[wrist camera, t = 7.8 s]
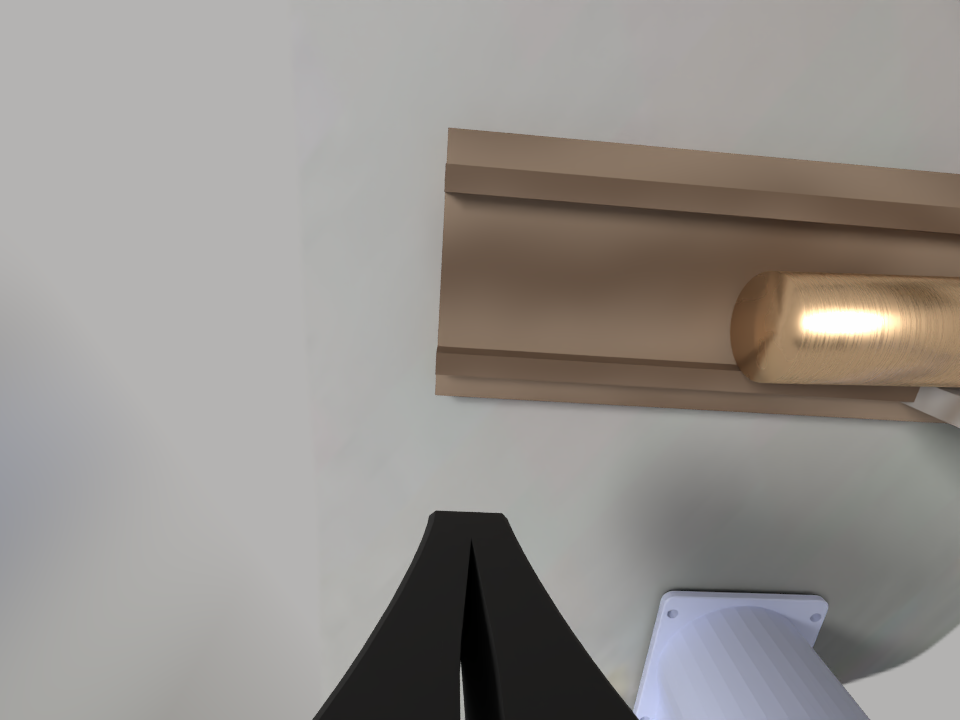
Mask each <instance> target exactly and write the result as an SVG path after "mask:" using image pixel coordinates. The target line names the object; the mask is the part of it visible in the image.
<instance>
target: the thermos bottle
mask: <svg viewBox="0 0 960 720" xmlns="http://www.w3.org/2000/svg"><path fill="white" fill-rule="evenodd" d="M730 342H731V348H732V352H733V356H734V359H735V361H736V363H737V365H738V367H739V369H740V370H741V371H742V373H743V374H744V375H745V376H746V377H748V378H749V379H750V380H752V381H754V382H758V383H779V384H825V385H872V386H918V387H960V277H947V276H915V275H884V274H853V273H821V272H790V271H766V272H762V273H760V274H758V275H756V276H755V277H753V278H752V279H751V280H750V281H749V282H748V283H747V284H746V285H745V286H744V288H743V289H742V291H741V292H740V294H739V296H738V298H737V301H736V303H735V306H734V309H733V313H732V317H731V325H730Z"/></svg>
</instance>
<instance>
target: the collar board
mask: <svg viewBox="0 0 960 720" xmlns="http://www.w3.org/2000/svg"><path fill="white" fill-rule="evenodd" d="M444 192H445V208H444V229H443V249H442V269H441V289H440V309H439V329H438V347H437V353H436V373H435V375H436V389H435V395H444V396H462V397H480V398H498V399H516V400H534V401H553V402H571V403H589V404H607V405H625V406H643V407H661V408H679V409H697V410H715V411H734V412H752V413H770V414H788V415H806V416H824V417H842V418H860V419H878V420H896V421H914V422H933V423H949V424H952V425H954V426H956V427H958V428H960V387H918V386H872V385H825V384H779V383H758V382H754V381H752V380H750V379H749V378H748V377H746V376H745V375H744V374H743V373H742V371H741V370H740V369H739V367H738V365H737V363H736V361H735V359H734V356H733V352H732V348H731V342H730V325H731V317H732V313H733V309H734V306H735V303H736V301H737V298H738V296H739V294H740V292H741V291H742V289H743V288H744V286H745V285H746V284H747V283H748V282H749V281H750V280H751V279H752V278H753V277H755V276H756V275H758V274H760V273H762V272H766V271H790V272H821V273H853V274H884V275H915V276H947V277H960V174H951V173H940V172H929V171H918V170H907V169H896V168H885V167H874V166H863V165H852V164H841V163H830V162H819V161H808V160H797V159H786V158H775V157H764V156H753V155H742V154H731V153H720V152H710V151H699V150H688V149H677V148H666V147H655V146H644V145H633V144H622V143H611V142H600V141H589V140H578V139H567V138H556V137H545V136H534V135H523V134H512V133H501V132H490V131H479V130H468V129H457V128H448V148H447V163H446V171H445V191H444Z"/></svg>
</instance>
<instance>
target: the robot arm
mask: <svg viewBox="0 0 960 720" xmlns="http://www.w3.org/2000/svg"><path fill="white" fill-rule="evenodd" d="M670 610H671V611H670ZM827 611H828V603H827V602H826V601H825V600H824V599H823V598H822V597H821V596H818V595H794V594H760V593H727V592H694V591H669V592H667V593H665V594H664V595H663V597H662V599H661V602H660V606H659V610H658V614H657V618H656V622H655V626H654V630H653V634H652V638H651V642H650V646H649V650H648V654H647V658H646V662H645V666H644V670H643V674H642V678H641V682H640V686H639V690H638V694H637V698H636V702H635V706H634V710H633V711H632V710H631V709H630V708H629V707H628V705H627V704H626V703H625V702H624V700H623V699H622V698H621V697H620V695H619V694H618V693H617V692H616V690H615V689H614V688H613V686H612V685H611V684H610V682H609V681H608V680H607V679H606V677H605V676H604V675H603V673H602V672H601V671H600V669H599V668H598V667H597V665H596V664H595V663H594V661H593V660H592V658H591V657H590V656H589V654H588V653H587V651H586V650H585V649H584V647H583V646H582V644H581V643H580V641H579V640H578V639H577V637H576V636H575V634H574V633H573V632H572V630H571V629H570V627H569V626H568V624H567V623H566V621H565V620H564V618H563V617H562V615H561V614H560V612H559V610H558V609H557V607H556V606H555V604H554V603H553V601H552V599H551V598H550V596H549V595H548V593H547V591H546V590H545V588H544V587H543V585H542V583H541V582H540V580H539V578H538V577H537V575H536V573H535V572H534V570H533V568H532V566H531V565H530V563H529V561H528V559H527V557H526V556H525V554H524V552H523V550H522V548H521V546H520V545H519V543H518V541H517V539H516V537H515V535H514V533H513V531H512V528H511V526H510V524H509V522H508V520H507V518H506V517H505V516H504V515H503V514H502V513H482V512H457V511H435V512H434V513H432V514H431V515H430V516H429V519H428V524H427V527H426V530H425V533H424V535H423V538H422V540H421V543H420V545H419V548H418V550H417V552H416V554H415V556H414V558H413V560H412V563H411V565H410V567H409V569H408V570H407V572H406V574H405V576H404V578H403V580H402V582H401V584H400V586H399V587H398V589H397V591H396V593H395V595H394V597H393V599H392V600H391V602H390V604H389V606H388V607H387V609H386V611H385V612H384V614H383V616H382V617H381V619H380V620H379V622H378V624H377V625H376V627H375V629H374V630H373V632H372V633H371V635H370V637H369V638H368V640H367V642H366V643H365V645H364V646H363V648H362V650H361V651H360V653H359V654H358V656H357V657H356V659H355V660H354V662H353V663H352V665H351V666H350V668H349V669H348V671H347V672H346V674H345V675H344V676H343V678H342V679H341V681H340V682H339V684H338V685H337V687H336V688H335V689H334V691H333V692H332V693H331V695H330V696H329V698H328V699H327V700H326V702H325V703H324V705H323V706H322V707H321V709H320V710H319V711H318V713H317V714H316V716H315V717H314V718H313V720H460V664H461V667H462V681H463V694H464V708H465V720H870V719H869V718H868V717H867V715H866V714H865V713H864V712H863V710H862V709H861V708H860V707H859V705H858V704H857V703H856V702H855V700H854V699H853V698H852V697H851V695H850V694H849V693H848V692H847V690H846V689H845V688H844V687H843V685H842V684H841V683H840V682H839V680H838V679H837V678H836V677H835V675H834V674H833V673H832V672H831V670H830V669H829V668H828V667H827V665H826V664H825V663H824V662H823V661H822V659H821V658H820V657H819V656H818V654H817V653H816V652H815V651H814V649H813V646H814V643H815V641H816V638H817V636H818V633H819V631H820V628H821V626H822V623H823V621H824V618H825V616H826V613H827Z"/></svg>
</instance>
